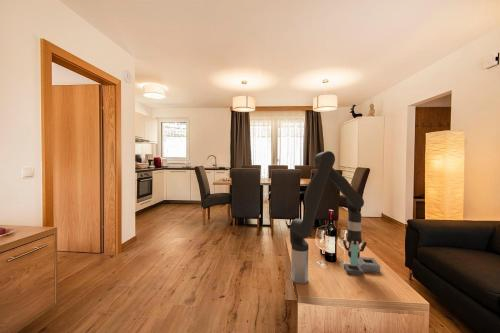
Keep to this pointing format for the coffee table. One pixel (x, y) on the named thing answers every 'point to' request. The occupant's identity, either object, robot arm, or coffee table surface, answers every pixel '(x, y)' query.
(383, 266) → the coffee table surface
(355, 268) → the dark grey shallow dish
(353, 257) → the plug
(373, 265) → the port block
